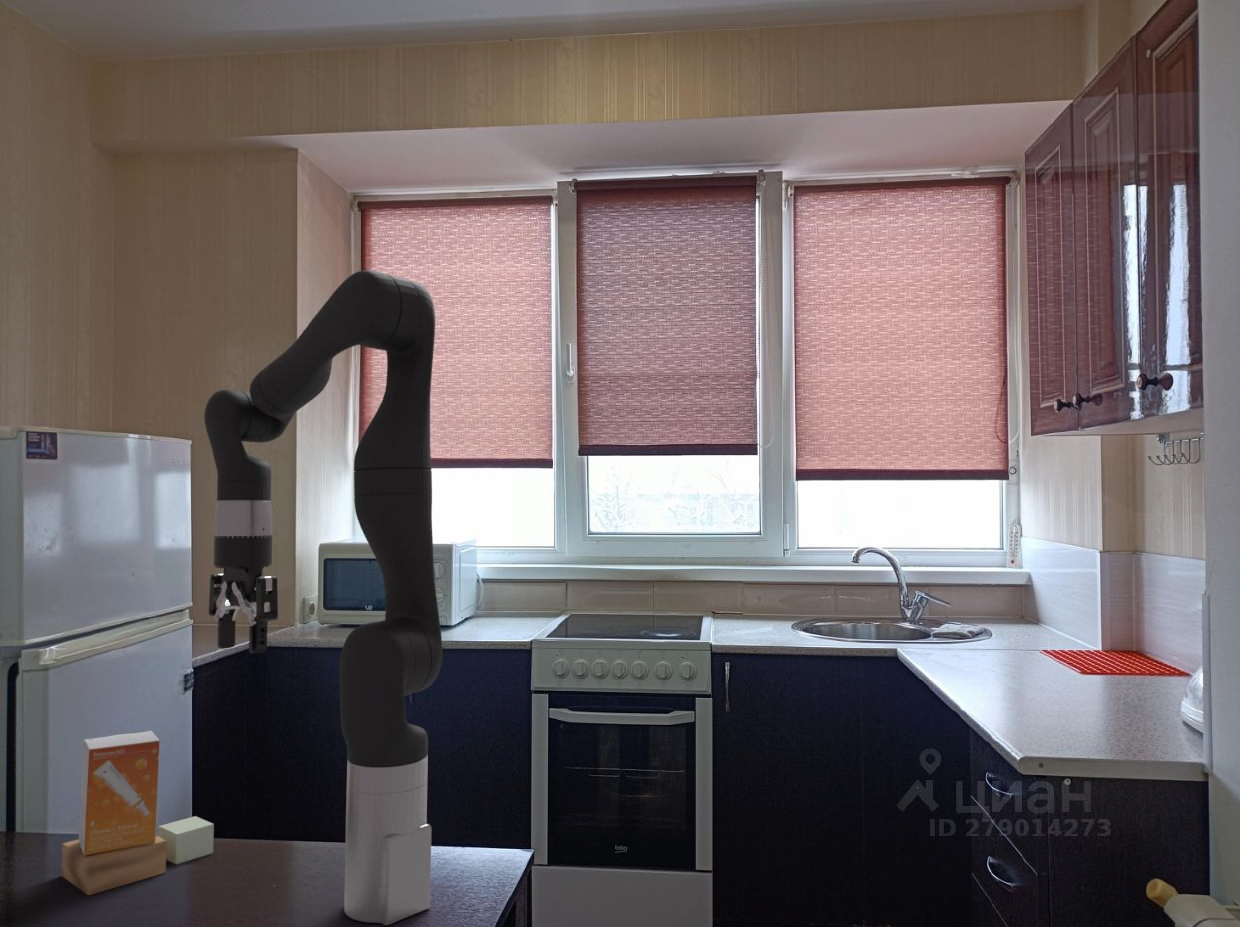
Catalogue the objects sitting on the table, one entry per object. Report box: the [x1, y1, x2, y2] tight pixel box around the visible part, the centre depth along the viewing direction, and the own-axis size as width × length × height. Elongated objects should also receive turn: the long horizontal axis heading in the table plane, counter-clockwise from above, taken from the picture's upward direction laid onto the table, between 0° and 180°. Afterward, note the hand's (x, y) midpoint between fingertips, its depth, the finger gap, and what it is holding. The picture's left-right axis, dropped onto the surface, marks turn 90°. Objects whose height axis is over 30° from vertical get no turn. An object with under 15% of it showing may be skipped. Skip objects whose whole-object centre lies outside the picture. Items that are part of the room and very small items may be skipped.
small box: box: [78, 730, 161, 856], centre depth 114 cm, size 8×6×13 cm
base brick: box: [60, 834, 167, 896], centre depth 114 cm, size 9×9×4 cm
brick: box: [158, 815, 215, 865], centre depth 121 cm, size 5×5×4 cm
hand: (241, 650), depth 124 cm, fingers open, 8 cm apart
